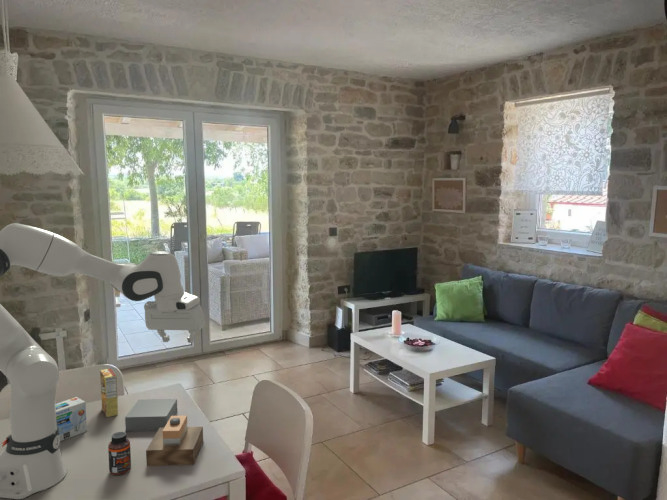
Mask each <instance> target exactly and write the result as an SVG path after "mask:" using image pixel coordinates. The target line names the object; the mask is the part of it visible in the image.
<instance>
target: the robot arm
mask: <svg viewBox="0 0 667 500" xmlns="http://www.w3.org/2000/svg"><path fill="white" fill-rule="evenodd" d="M12 266H19V267H23V268H26V269H29V270H33V271H34V272H35V271H36V272H38V273H41V274H45V275H51V276H56V277H67V276H69V275H74V274H79V275H85V276H88V277H91V278H94V279H97V280H101V281H104V282H106V283H108V284H110V285H111V286H112V287H113V288H114V289H115V290H116V291H117V292H119V293H120V294H122V295H123V296H124V297H125V298H127V299H128V300H131V301H133V302H141V301H145V300H147V299H149V298H151V297H154V300H153V301H151V300H148V301H146V302H145V303H144V305H143V309H144V320H145V327H146V328H147V329H148V330H149V331H151V330H152V331H154V330H155V331H157V334H158V335H159V336H160V337H161V340H162V343H168V342H170V340H171V339H170V335H168V334H167V333H166V332H165V331H188V333H189V336H187V343H189V344H190V343H192V344H193V343H195V335H196V332H197V331H201V330H202V329H203V328H204V327H205V325H206V318H205V314H204V310H203V308H202V306H201V305H200V304H199V303H201V302H200V301H201V299H200V297H199V296H198V295H194V294H191V293H189V292H186V291H184V287H183V286H182V283H181V279H182V276H181V271H180V267H179V263H178V260H177V258H176V256H175V255H174V254H173V253H172V252H170V251H164V250H163V251H162V250H161V251H159V250H158V251H152V252H150V253H148V254H147V256H146V257H145V258H144V259H143V260H142V261H140V262H139V263H138V264H137V263H134V262H114V261H112V260H108V259H105V258H102V257H99V256H97V255H94V254H91V253H89V252H87V251H86V250H85V249H83V248H82V247H81V246H79V245H78V244H77V243H75V242H74V241H72V240H69V238H67V237H64V236H62V235H60V234H58V233H55V232H52V231H50V230H45V229H43V228H39V227H36V226H32V225H28V224H22V223H17V222H14V223H10V224H8V225H6V226H4V227H3V228H2V229H1V230H0V278H2V276H3V275H4V274H5V273H7V272H8V271H9V269H10V268H11V267H12ZM0 371H1V373H3V375H4V376H5V377H6V379H7V380H8V381H9V384H10V389H11V394H10V406H9V407H10V408H9V411H8V412H9V424H10V434H9V435H8V436H7V437H6V439H5V440H3V442H2V443H1V447H2V448H3V447H5V446H6V447H5V448H4V449H3V450H2V451H1V452H0V498H3V499H12V500H13V499H14V500H22V499H25V498H27V497H29V496H31V495H33V494H35V493H38V492H41V491H44V490H47V489H49V488H51V487H53V486H56V485H57V484H59V482H61V481H62V480H63V479H64V478H65V476H66V475H67V472H68V470H67V468H66V465H65V463H64V461H63V457H62V454H61V450H60V446H61V441H60V437H59V428H58V426H57V422H56V408H55V404H56V397H57V389H58V383H59V382H58V381H59V379H60V370H59V366H58V364H57V362H56V360H55V359H54V358H53V357H52V356H51V355H50V354H49V353H48V352H47V351H45V350H44V349H43V348H42V347H41V346H40V345H39V343H37V342H36V340H35V339H34V338H33V337H32V336H31V335H30V334H29V333H28V331H27V330H25V328H24V327H23V326H22V325H21V324H20V323H19V321H17V319H16V318H14V316H13V315H11V313H10V312H9V311H8V310H7V309H6V308H5V307H4V306H3V305H2V304H1V303H0Z"/></svg>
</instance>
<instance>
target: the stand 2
mask: <svg viewBox="0 0 667 500" xmlns="http://www.w3.org/2000/svg"><path fill="white" fill-rule="evenodd" d="M163 429H164V428H159V430H156V431H157V432H156V433H155V435H154V437H153V438H152V440H151V441H150V443H149V444H148V446H147V448H146V449H145V457H146V461H145V462H146V467H154V466H155V467H158V466H159V467H160V466H161V467H162V466H187V465H188V466H191V465H193V466H194V465H195V463H196V460H197V457H198V455H199V452H200V450H201V447H202V444H204V443H203V442H204V427H203V426H187V429H188V430H187V432H186V434H185V436H184V438H183V440H182V442H181V445H180V446H165V447H163V433H162V431H163Z"/></svg>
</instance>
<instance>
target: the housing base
mask: <svg viewBox="0 0 667 500" xmlns="http://www.w3.org/2000/svg"><path fill="white" fill-rule="evenodd" d="M187 427H188V423H187V424H186V426H185V428H184V430H183V432H182V434H181V436H180V438H176V439H163V447H165V446H180V445H181V442H182V440H183V438H184V436H185V434H186V432H187V430H188V429H187Z"/></svg>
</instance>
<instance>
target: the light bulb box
mask: <svg viewBox="0 0 667 500" xmlns="http://www.w3.org/2000/svg"><path fill="white" fill-rule="evenodd" d="M55 408H56V422H57V426H58V428H59V437H60V442H62V441H65V440H67V439H70V438H73V437H75V436H78V435H80V434H83V433H86V432H87V431H88V425H87V423H88V422H87V408H86V401H85V400H83V399H81V398H80V397H78V396H75V397H72V398H69V399H65V400H62V401H60V402H57V403H55Z"/></svg>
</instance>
